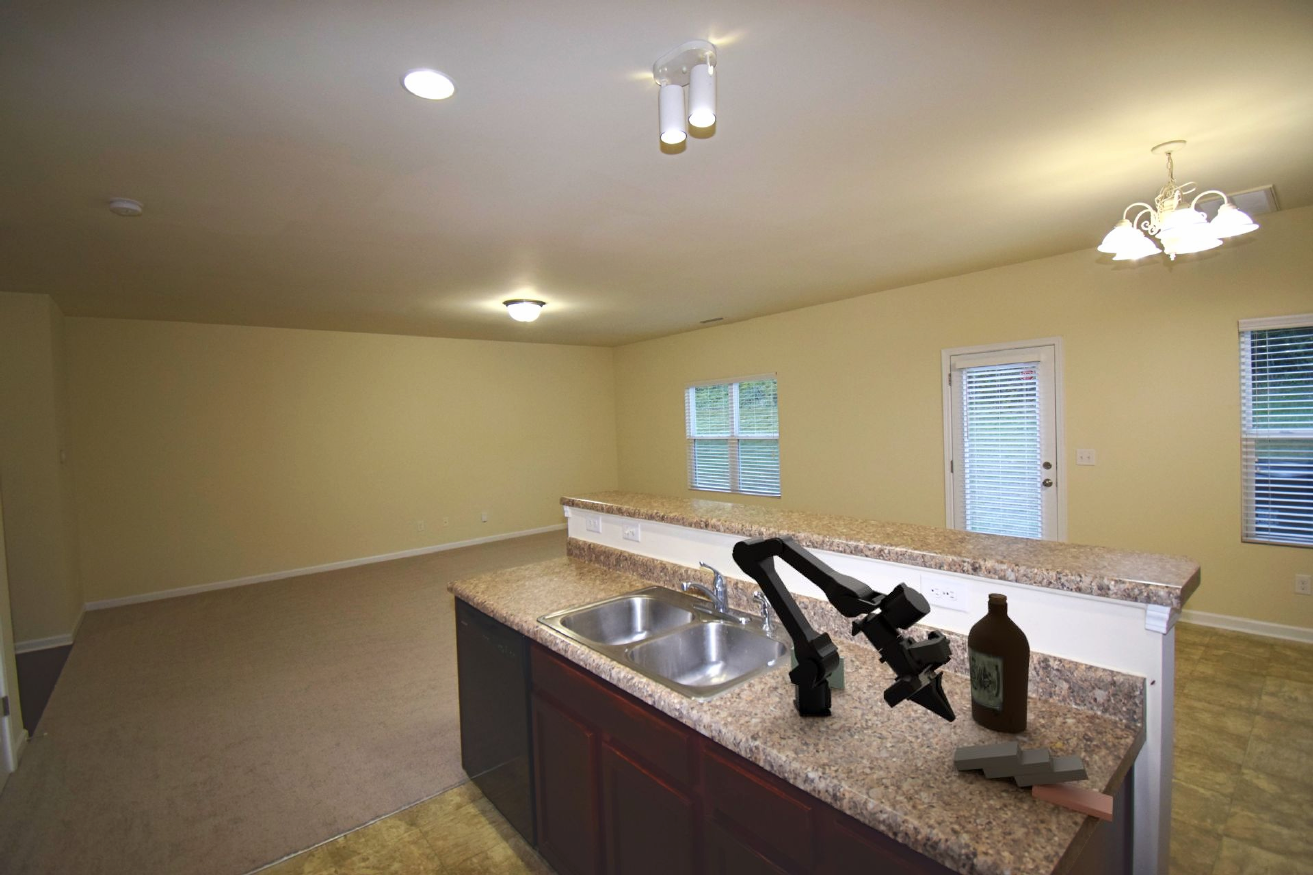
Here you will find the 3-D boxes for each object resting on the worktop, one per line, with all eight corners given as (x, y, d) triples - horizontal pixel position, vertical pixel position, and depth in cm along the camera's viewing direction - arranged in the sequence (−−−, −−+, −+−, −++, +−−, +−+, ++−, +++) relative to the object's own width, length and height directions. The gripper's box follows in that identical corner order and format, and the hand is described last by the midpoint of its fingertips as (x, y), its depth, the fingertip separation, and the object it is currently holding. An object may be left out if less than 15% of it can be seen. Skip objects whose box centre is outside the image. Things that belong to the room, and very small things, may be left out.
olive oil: (991, 703, 123) (990, 584, 122) (1043, 726, 113) (1042, 598, 113) (956, 715, 118) (954, 592, 118) (1006, 740, 109) (1005, 607, 108)
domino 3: (1014, 776, 95) (1084, 768, 91) (1012, 762, 100) (1079, 754, 95) (1018, 786, 95) (1088, 779, 90) (1016, 772, 99) (1083, 764, 95)
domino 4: (1032, 788, 93) (1112, 814, 87) (1036, 773, 97) (1112, 796, 91) (1032, 798, 93) (1112, 824, 87) (1036, 782, 97) (1112, 806, 91)
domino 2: (982, 768, 98) (1049, 761, 93) (983, 754, 102) (1047, 747, 97) (986, 778, 97) (1054, 771, 93) (987, 764, 102) (1052, 757, 97)
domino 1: (952, 760, 100) (1016, 754, 95) (956, 747, 104) (1017, 740, 99) (956, 770, 100) (1020, 764, 95) (960, 756, 104) (1021, 750, 99)
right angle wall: (843, 691, 131) (843, 658, 131) (791, 680, 137) (790, 648, 137) (855, 671, 141) (855, 640, 141) (806, 661, 148) (806, 632, 147)
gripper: (900, 633, 99) (972, 719, 92) (939, 606, 113) (1004, 680, 105) (856, 666, 105) (921, 750, 98) (898, 637, 119) (957, 708, 111)
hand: (953, 720), depth 103 cm, fingers closed
